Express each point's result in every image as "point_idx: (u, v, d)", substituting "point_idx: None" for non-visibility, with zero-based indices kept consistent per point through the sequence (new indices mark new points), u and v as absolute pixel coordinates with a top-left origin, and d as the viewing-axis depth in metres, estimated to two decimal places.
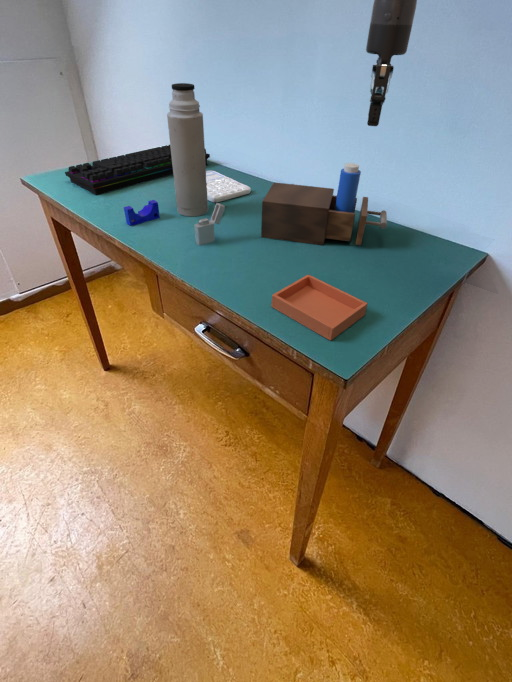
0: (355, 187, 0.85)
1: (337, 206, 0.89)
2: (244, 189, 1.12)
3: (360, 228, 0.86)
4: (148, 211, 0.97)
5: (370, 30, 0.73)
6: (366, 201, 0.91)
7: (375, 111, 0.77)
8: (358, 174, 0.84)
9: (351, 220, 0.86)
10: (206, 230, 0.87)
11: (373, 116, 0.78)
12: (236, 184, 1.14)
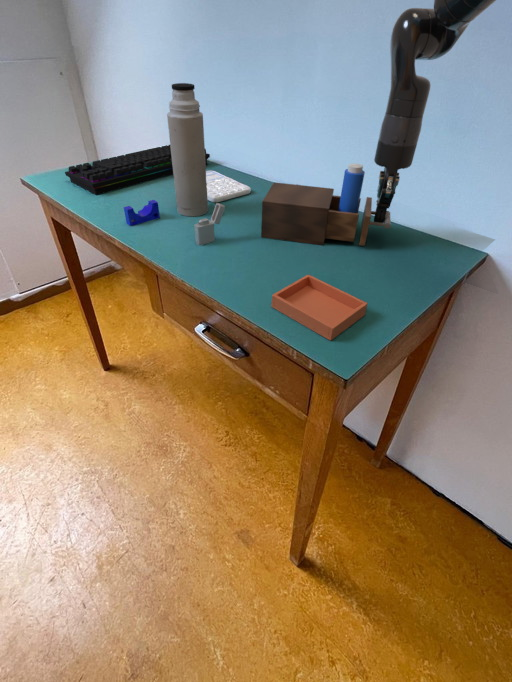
0: (359, 187, 0.85)
1: (341, 206, 0.89)
2: (244, 189, 1.12)
3: (364, 228, 0.86)
4: (148, 211, 0.97)
5: (378, 146, 0.79)
6: (370, 201, 0.90)
7: (381, 212, 0.87)
8: (362, 174, 0.84)
9: (355, 220, 0.86)
10: (206, 230, 0.87)
11: (379, 217, 0.88)
12: (236, 184, 1.14)
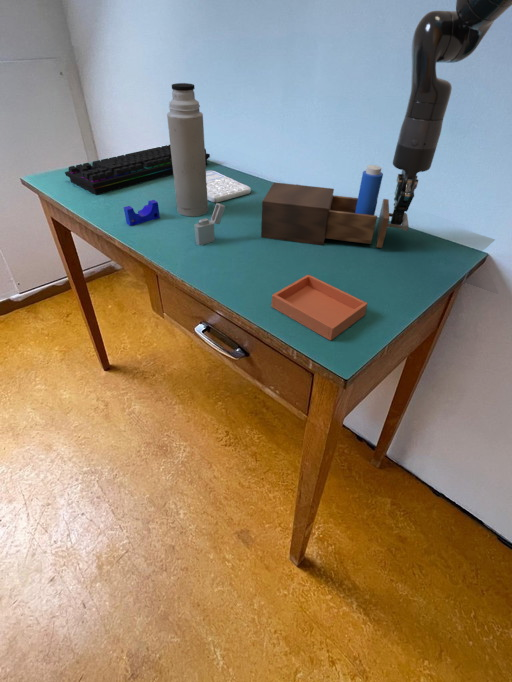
0: (377, 189, 0.84)
1: (358, 208, 0.88)
2: (244, 189, 1.12)
3: (382, 231, 0.85)
4: (148, 211, 0.97)
5: (397, 149, 0.79)
6: (387, 203, 0.90)
7: (398, 215, 0.87)
8: (380, 176, 0.83)
9: (373, 222, 0.85)
10: (206, 230, 0.87)
11: (396, 220, 0.87)
12: (236, 184, 1.14)
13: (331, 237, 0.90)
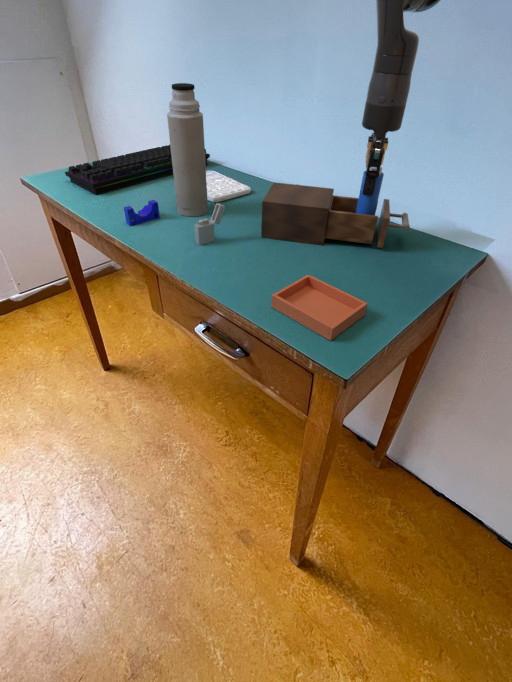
0: (378, 189, 0.84)
1: (359, 208, 0.88)
2: (244, 189, 1.12)
3: (383, 231, 0.85)
4: (148, 211, 0.97)
5: (366, 108, 0.76)
6: (387, 203, 0.90)
7: (370, 183, 0.82)
8: (381, 176, 0.83)
9: (374, 223, 0.85)
10: (206, 230, 0.87)
11: (368, 187, 0.83)
12: (236, 184, 1.14)
13: (332, 237, 0.90)
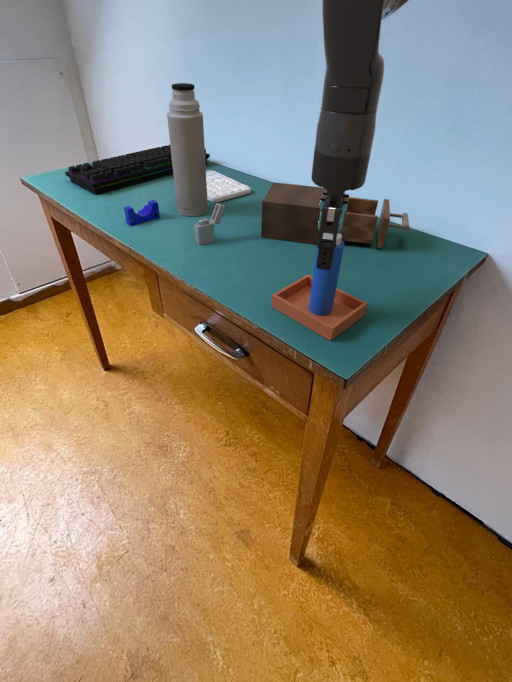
0: (337, 263, 0.62)
1: (314, 285, 0.66)
2: (244, 189, 1.12)
3: (383, 231, 0.85)
4: (148, 211, 0.97)
5: (314, 157, 0.53)
6: (387, 203, 0.90)
7: (325, 255, 0.58)
8: (341, 248, 0.61)
9: (374, 223, 0.85)
10: (206, 230, 0.87)
11: (323, 261, 0.58)
12: (236, 184, 1.14)
13: None
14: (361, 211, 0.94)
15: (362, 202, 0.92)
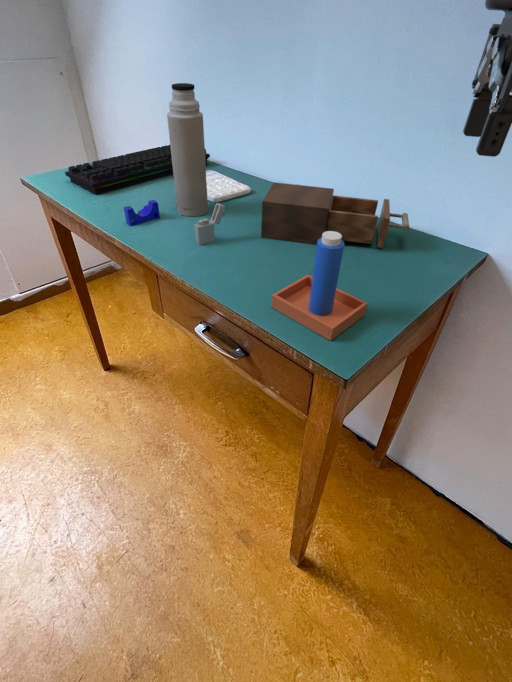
0: (337, 263, 0.62)
1: (314, 285, 0.66)
2: (244, 189, 1.12)
3: (383, 231, 0.85)
4: (148, 211, 0.97)
5: None
6: (387, 203, 0.90)
7: (500, 127, 0.39)
8: (341, 248, 0.61)
9: (374, 223, 0.85)
10: (206, 230, 0.87)
11: (493, 138, 0.39)
12: (236, 184, 1.14)
13: None
14: (361, 211, 0.94)
15: (362, 202, 0.92)
